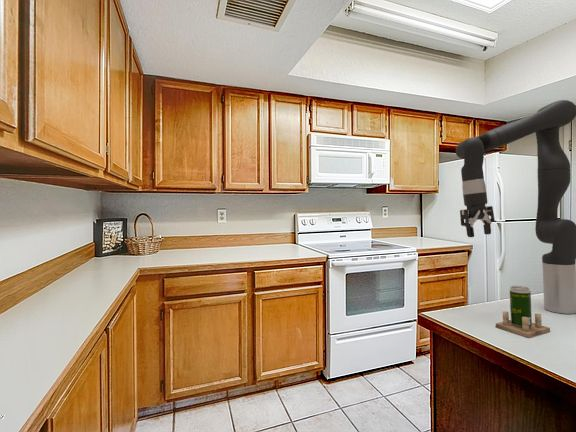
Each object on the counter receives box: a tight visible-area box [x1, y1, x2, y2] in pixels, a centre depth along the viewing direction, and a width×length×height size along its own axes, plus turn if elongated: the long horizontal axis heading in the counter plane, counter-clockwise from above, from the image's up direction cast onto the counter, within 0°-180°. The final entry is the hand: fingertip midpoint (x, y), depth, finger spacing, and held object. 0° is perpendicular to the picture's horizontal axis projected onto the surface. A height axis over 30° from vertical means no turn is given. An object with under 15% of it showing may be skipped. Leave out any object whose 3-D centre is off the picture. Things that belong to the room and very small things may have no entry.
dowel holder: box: [495, 310, 551, 339], centre depth 100 cm, size 10×10×5 cm
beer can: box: [509, 285, 533, 328], centre depth 100 cm, size 5×5×12 cm
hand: (479, 235), depth 117 cm, fingers open, 8 cm apart
